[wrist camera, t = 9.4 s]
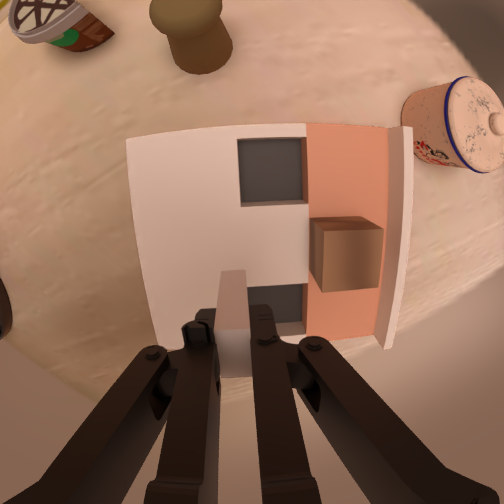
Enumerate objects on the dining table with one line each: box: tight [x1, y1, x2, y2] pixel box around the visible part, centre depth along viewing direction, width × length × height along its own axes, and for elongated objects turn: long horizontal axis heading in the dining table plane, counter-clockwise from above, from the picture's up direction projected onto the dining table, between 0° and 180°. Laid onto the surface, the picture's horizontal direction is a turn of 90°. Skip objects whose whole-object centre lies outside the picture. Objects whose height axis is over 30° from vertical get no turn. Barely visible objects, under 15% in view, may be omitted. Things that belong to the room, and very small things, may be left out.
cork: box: [149, 0, 233, 75], centre depth 18 cm, size 6×6×11 cm
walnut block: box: [309, 216, 384, 293], centre depth 24 cm, size 5×5×5 cm
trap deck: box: [126, 123, 414, 350], centre depth 27 cm, size 25×22×6 cm
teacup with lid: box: [402, 76, 504, 173], centre depth 20 cm, size 12×9×12 cm
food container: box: [8, 0, 115, 52], centre depth 16 cm, size 12×6×10 cm, turn 42°
